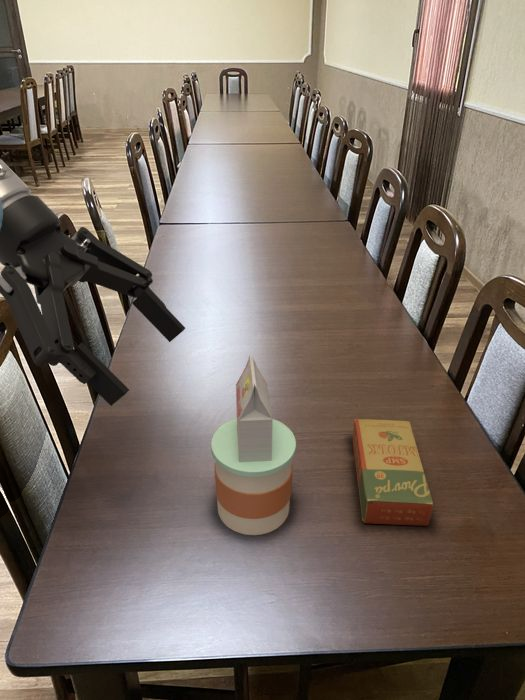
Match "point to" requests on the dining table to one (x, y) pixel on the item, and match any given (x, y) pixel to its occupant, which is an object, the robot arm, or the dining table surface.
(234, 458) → the coffee cup
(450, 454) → the dining table surface
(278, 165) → the dining table surface
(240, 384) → the paper tea packet
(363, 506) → the carton
